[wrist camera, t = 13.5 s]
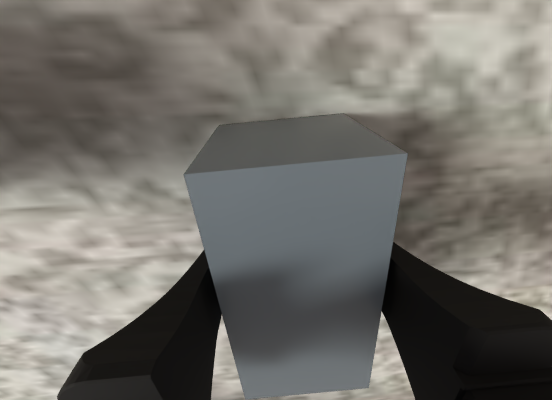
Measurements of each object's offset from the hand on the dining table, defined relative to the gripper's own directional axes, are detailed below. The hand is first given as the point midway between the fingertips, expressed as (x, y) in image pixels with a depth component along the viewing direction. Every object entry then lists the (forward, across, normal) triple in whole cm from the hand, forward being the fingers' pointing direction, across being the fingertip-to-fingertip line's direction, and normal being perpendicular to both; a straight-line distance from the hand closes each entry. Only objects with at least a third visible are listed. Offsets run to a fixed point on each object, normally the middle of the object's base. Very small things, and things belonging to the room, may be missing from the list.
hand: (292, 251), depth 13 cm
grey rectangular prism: (+3, 0, 0) cm, 3 cm away
